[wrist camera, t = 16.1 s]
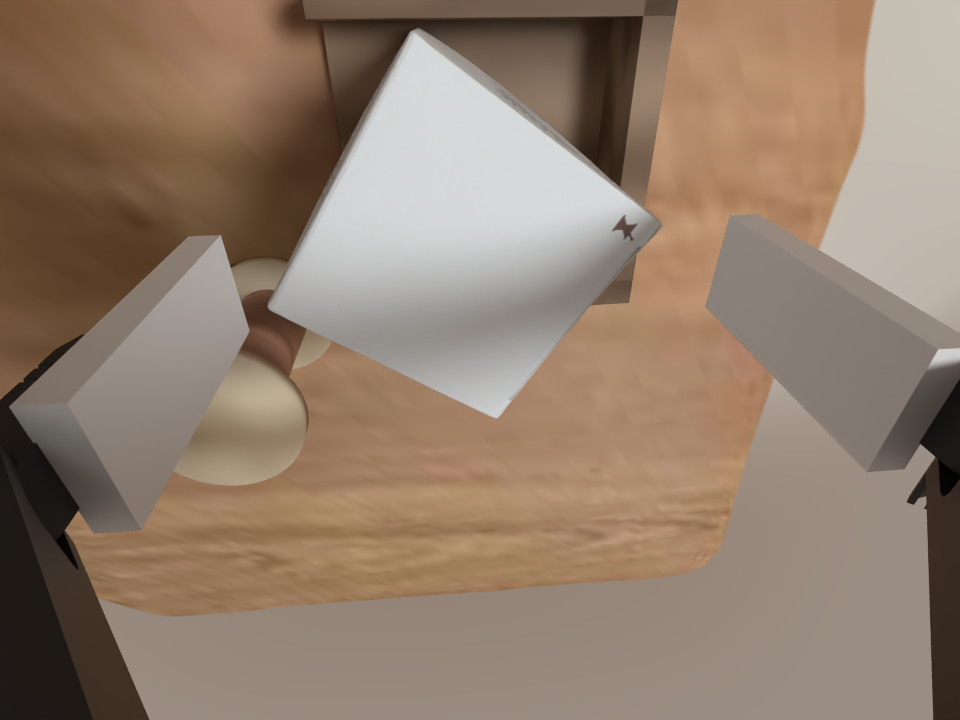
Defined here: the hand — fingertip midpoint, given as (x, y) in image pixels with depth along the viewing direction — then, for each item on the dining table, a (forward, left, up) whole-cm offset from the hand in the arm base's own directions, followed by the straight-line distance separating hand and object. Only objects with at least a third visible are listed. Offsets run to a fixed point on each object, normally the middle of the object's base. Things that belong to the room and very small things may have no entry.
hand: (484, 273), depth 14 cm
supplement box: (+1, 0, -19) cm, 19 cm away
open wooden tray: (0, +1, -20) cm, 20 cm away
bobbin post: (+10, -12, -20) cm, 25 cm away
